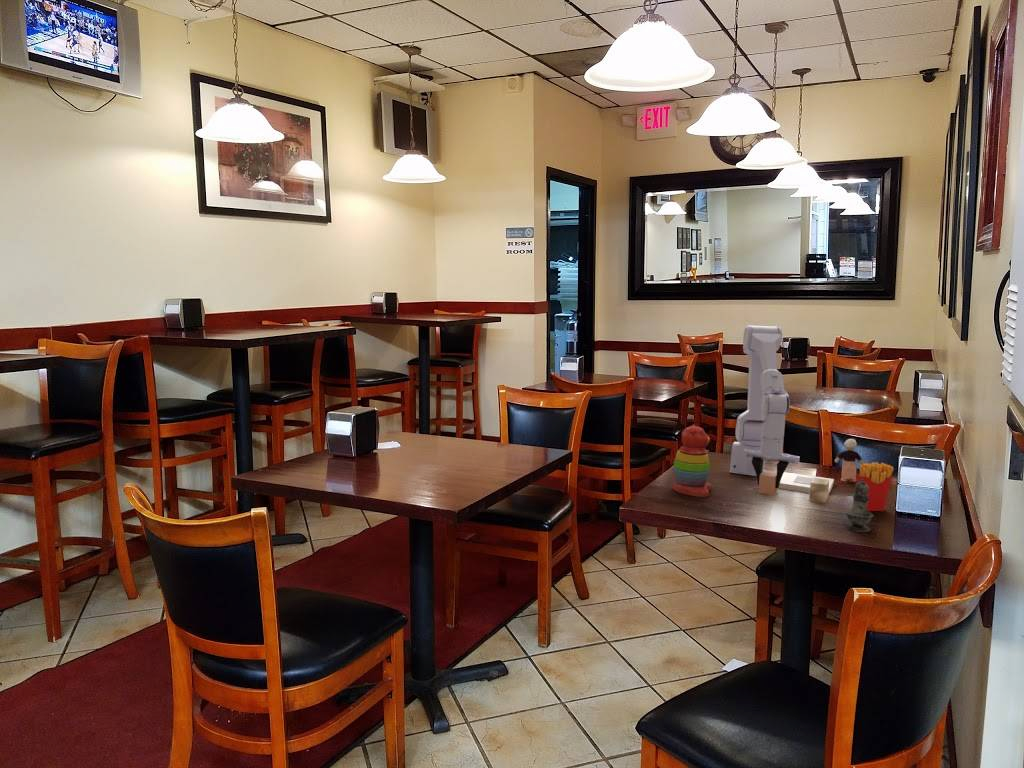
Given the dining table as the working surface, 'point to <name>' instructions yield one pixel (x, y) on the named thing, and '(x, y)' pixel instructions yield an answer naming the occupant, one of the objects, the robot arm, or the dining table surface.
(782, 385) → the robot arm
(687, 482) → the stacking bear
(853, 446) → the grandmother figurine
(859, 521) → the grey stone statuette
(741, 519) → the dining table surface
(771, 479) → the terracotta brick
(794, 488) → the tower plate
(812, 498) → the birch brick
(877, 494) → the french fries
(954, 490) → the dining table surface
